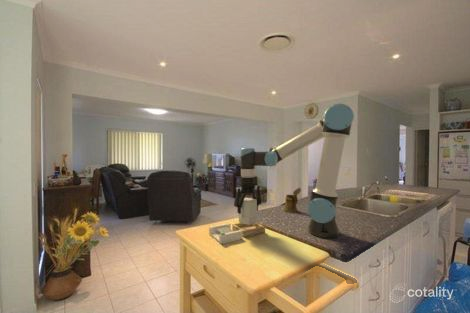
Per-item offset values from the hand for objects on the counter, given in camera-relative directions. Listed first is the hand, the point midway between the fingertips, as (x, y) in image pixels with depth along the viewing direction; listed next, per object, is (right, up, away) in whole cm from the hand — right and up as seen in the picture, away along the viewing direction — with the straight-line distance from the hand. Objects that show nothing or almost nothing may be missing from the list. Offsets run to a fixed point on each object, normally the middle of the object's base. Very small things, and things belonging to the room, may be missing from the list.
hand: (248, 218), depth 122 cm
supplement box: (0, -3, 0) cm, 3 cm away
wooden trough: (0, -7, 0) cm, 7 cm away
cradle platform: (-12, -5, -7) cm, 15 cm away
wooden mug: (+34, -6, +38) cm, 52 cm away
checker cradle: (-12, -8, -7) cm, 16 cm away
